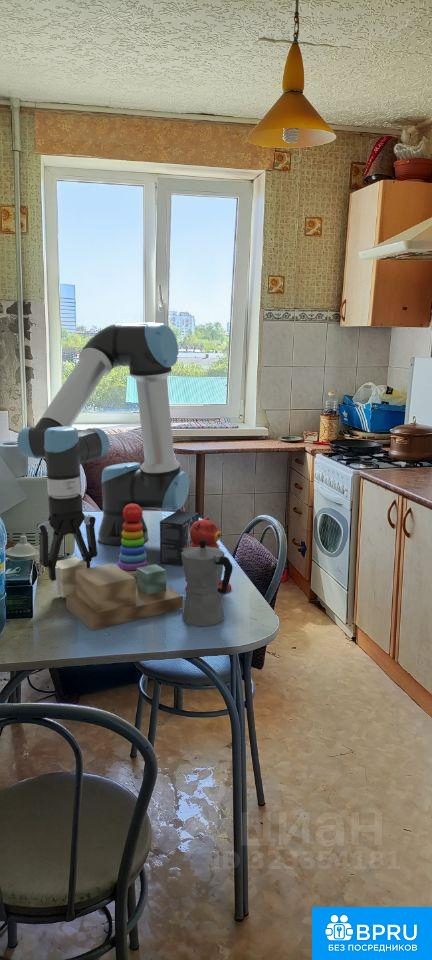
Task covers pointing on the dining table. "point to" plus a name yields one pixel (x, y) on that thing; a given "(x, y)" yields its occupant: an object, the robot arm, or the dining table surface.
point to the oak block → (69, 574)
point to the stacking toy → (132, 541)
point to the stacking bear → (207, 532)
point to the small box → (175, 536)
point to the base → (128, 611)
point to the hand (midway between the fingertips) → (70, 589)
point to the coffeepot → (204, 584)
